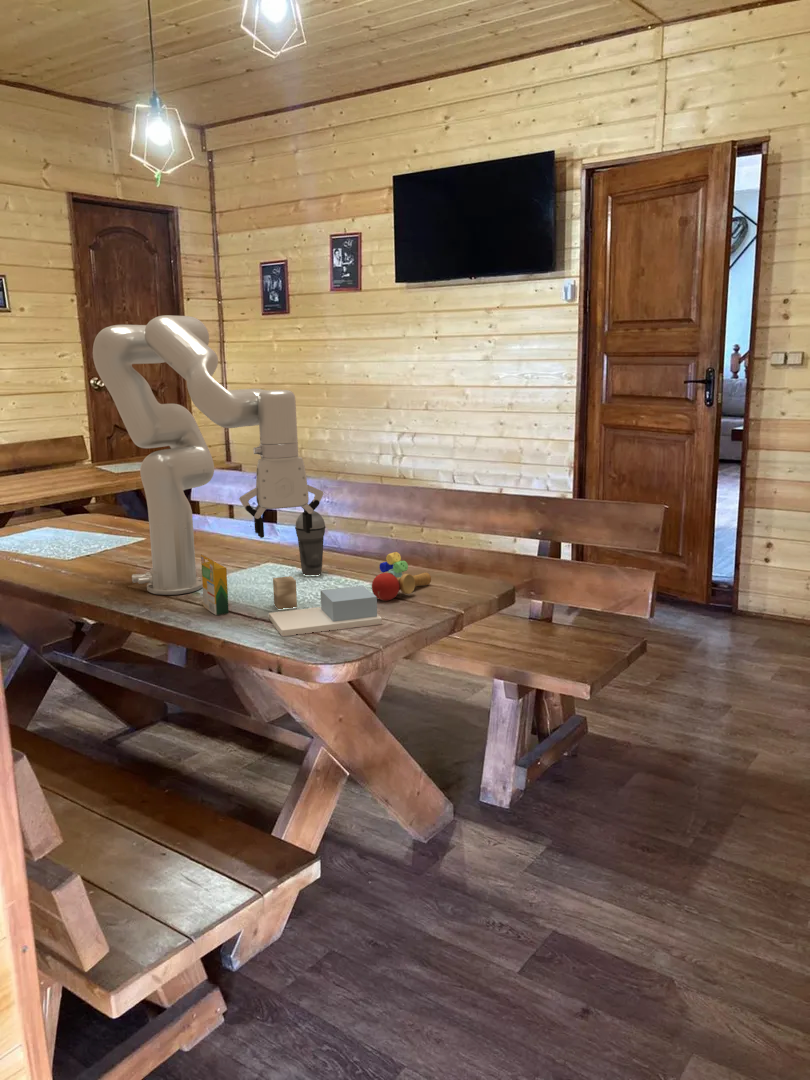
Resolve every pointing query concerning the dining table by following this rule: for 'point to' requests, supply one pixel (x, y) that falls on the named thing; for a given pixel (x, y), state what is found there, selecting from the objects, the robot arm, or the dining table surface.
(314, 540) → the beverage cup
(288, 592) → the birch block
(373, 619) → the baseplate
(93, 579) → the dining table surface
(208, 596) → the crayon box
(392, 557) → the dice
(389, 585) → the kendama
